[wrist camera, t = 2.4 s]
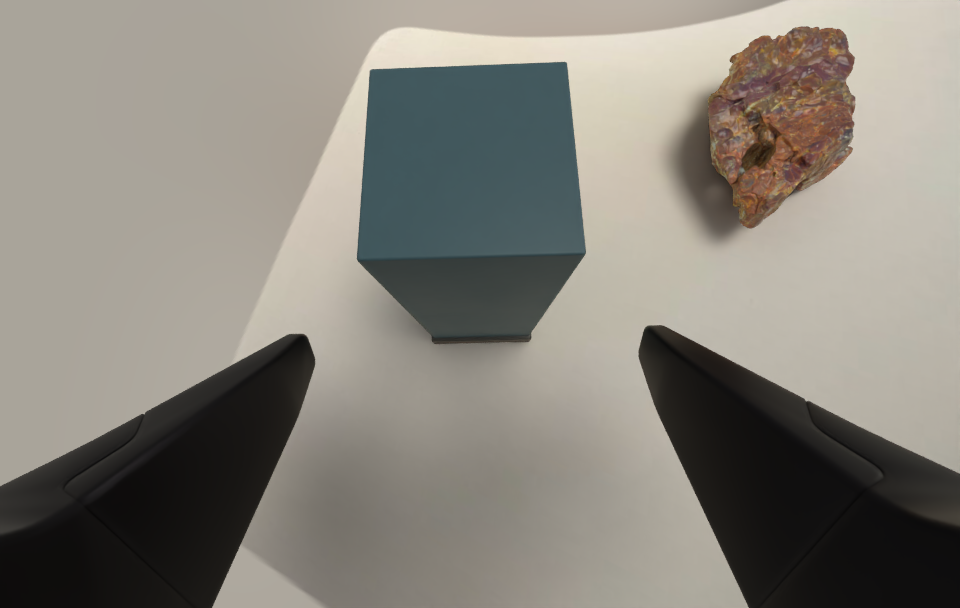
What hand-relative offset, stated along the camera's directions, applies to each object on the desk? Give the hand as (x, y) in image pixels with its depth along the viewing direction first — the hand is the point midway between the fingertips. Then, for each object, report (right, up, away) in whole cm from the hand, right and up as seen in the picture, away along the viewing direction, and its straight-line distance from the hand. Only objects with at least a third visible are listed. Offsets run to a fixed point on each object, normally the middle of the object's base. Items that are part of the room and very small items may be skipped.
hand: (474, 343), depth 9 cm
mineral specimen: (+18, +11, +14) cm, 25 cm away
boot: (0, +4, +13) cm, 13 cm away
